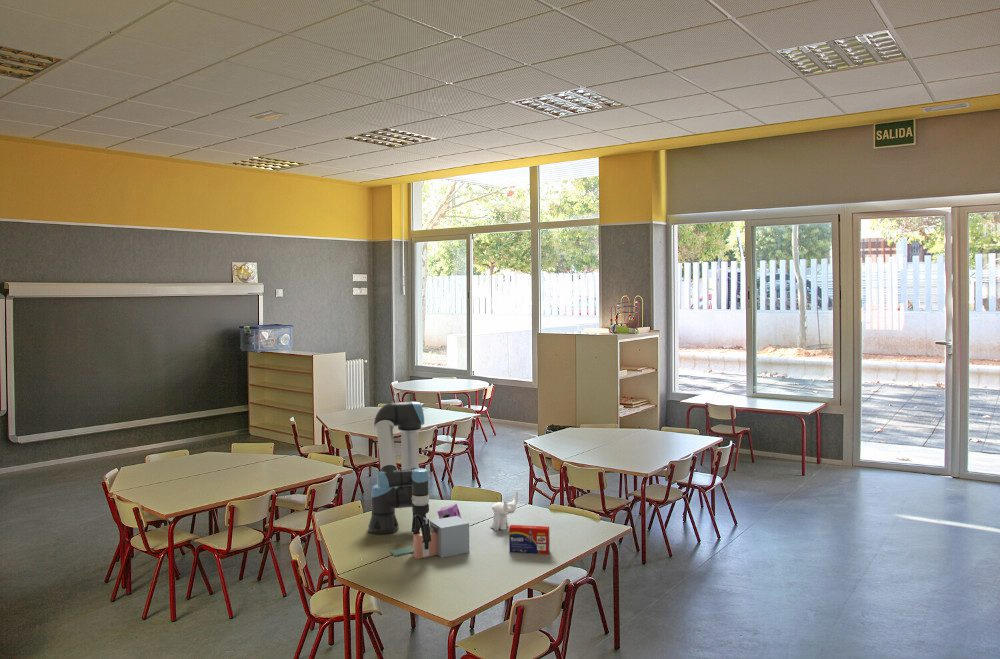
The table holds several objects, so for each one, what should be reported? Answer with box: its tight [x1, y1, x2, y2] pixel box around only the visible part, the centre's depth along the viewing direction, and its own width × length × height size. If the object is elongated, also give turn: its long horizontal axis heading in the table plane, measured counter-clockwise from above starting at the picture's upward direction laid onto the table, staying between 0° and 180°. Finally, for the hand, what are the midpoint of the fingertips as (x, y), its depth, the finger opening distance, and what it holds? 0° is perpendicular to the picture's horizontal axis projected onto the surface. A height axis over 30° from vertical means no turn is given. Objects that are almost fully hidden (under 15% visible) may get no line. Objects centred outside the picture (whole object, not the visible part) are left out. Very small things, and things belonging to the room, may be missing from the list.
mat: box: [389, 546, 414, 557], centre depth 337 cm, size 6×17×1 cm, turn 119°
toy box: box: [508, 524, 551, 555], centre depth 334 cm, size 18×4×12 cm, turn 79°
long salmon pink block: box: [412, 531, 439, 559], centre depth 332 cm, size 4×16×10 cm, turn 119°
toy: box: [437, 503, 463, 519], centre depth 358 cm, size 11×8×15 cm
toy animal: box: [490, 490, 519, 531], centre depth 369 cm, size 20×12×17 cm, turn 161°
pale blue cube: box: [429, 516, 470, 559], centre depth 336 cm, size 13×15×14 cm
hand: (421, 552), depth 330 cm, fingers open, 10 cm apart
